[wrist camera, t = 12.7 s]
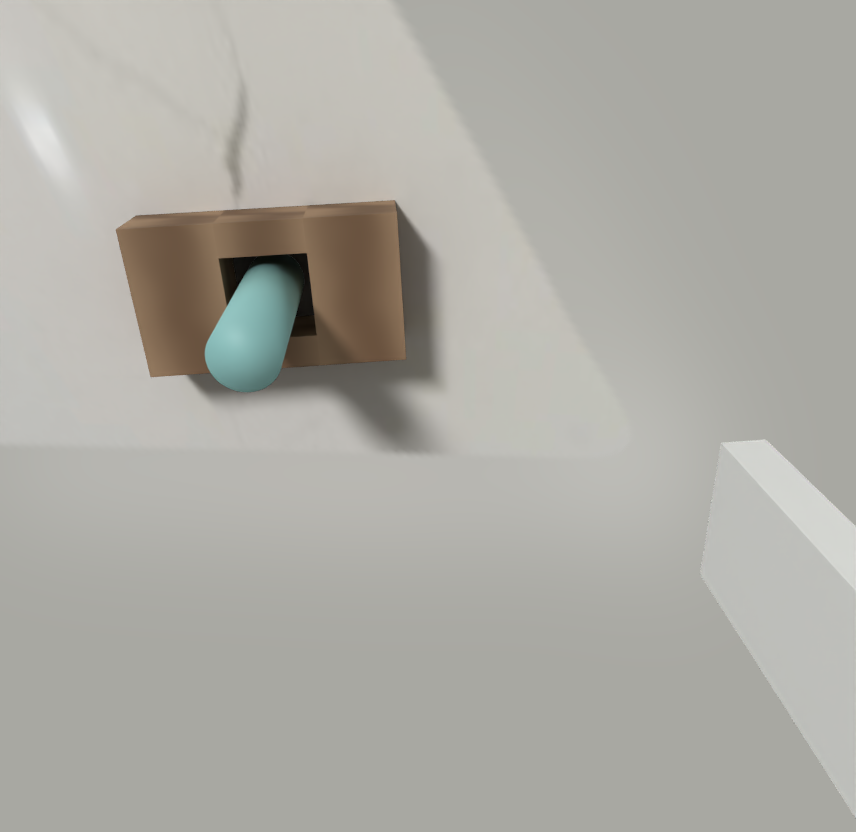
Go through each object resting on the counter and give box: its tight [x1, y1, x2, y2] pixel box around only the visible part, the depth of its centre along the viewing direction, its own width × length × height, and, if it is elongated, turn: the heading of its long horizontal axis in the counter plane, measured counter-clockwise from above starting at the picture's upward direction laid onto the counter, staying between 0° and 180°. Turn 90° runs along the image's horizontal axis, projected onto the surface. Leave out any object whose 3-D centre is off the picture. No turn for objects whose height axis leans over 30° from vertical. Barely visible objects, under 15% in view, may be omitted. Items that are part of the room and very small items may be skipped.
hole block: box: [116, 200, 406, 377], centre depth 40 cm, size 14×8×4 cm, turn 93°
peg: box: [205, 254, 304, 392], centre depth 36 cm, size 3×3×12 cm
